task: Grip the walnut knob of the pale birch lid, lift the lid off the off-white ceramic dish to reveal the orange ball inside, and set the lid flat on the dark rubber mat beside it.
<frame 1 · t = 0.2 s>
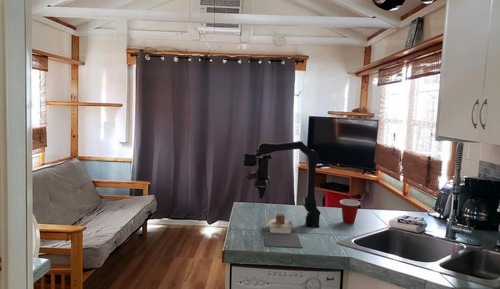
hand: (262, 196, 191), 14 cm above the countertop, tool pointing down, fingers open, 9 cm apart
mat: (282, 240, 167), on the countertop
dish: (279, 229, 183), on the countertop
plastic cup: (348, 223, 201), on the countertop
lid: (279, 224, 183), point 3 cm above the countertop, touching dish
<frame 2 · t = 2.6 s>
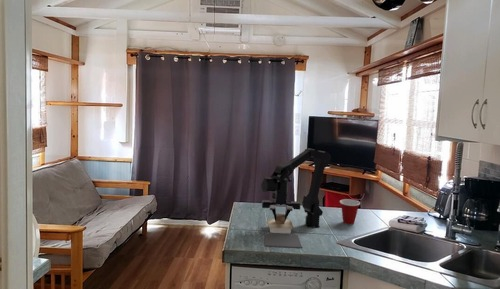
hand: (280, 221, 183), 4 cm above the countertop, tool pointing down, fingers closed on lid, 4 cm apart
lid: (279, 224, 183), point 3 cm above the countertop, touching dish, gripper
everything else where it was.
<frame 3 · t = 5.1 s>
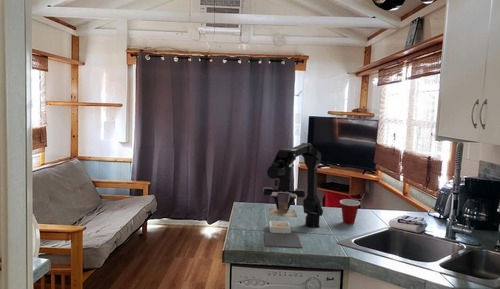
hand: (282, 210, 168), 13 cm above the countertop, tool pointing down, fingers closed on lid, 4 cm apart
lid: (282, 213, 168), point 12 cm above the countertop, touching gripper
everything else where it was.
when the fingers open (3 cm above the countertop, at t = 7.8 s): lid drops 2 cm, resting on mat.
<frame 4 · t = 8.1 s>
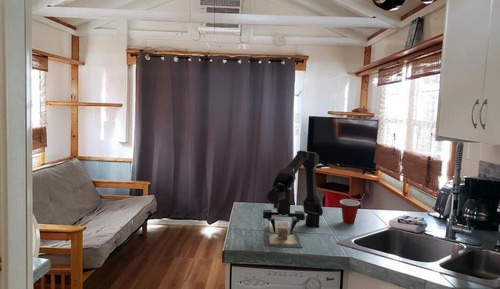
hand: (282, 233, 167), 3 cm above the countertop, tool pointing down, fingers open, 7 cm apart
lid: (282, 239, 167), resting on mat
everything else where it was.
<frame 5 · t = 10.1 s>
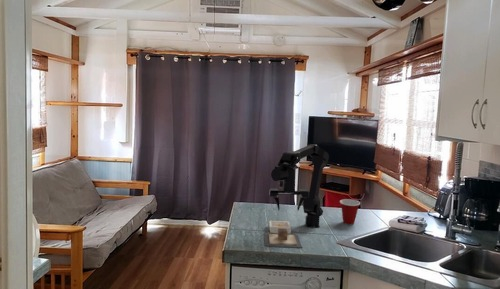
hand: (288, 210, 177), 11 cm above the countertop, tool pointing down, fingers open, 9 cm apart
nothing on the countertop moved.
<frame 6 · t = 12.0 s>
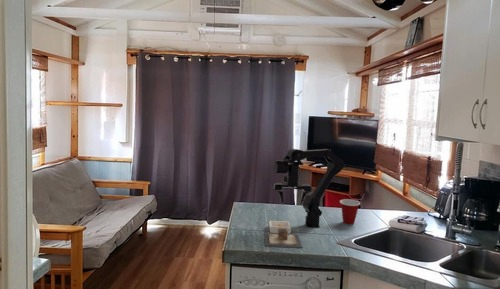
hand: (291, 203, 188), 12 cm above the countertop, tool pointing down, fingers open, 9 cm apart
nothing on the countertop moved.
at the end: lid inside the target area on the mat (0.0 cm from its centre), point 0.5 cm above the mat's base; lid tilted 0°; the gripper is holding nothing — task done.
